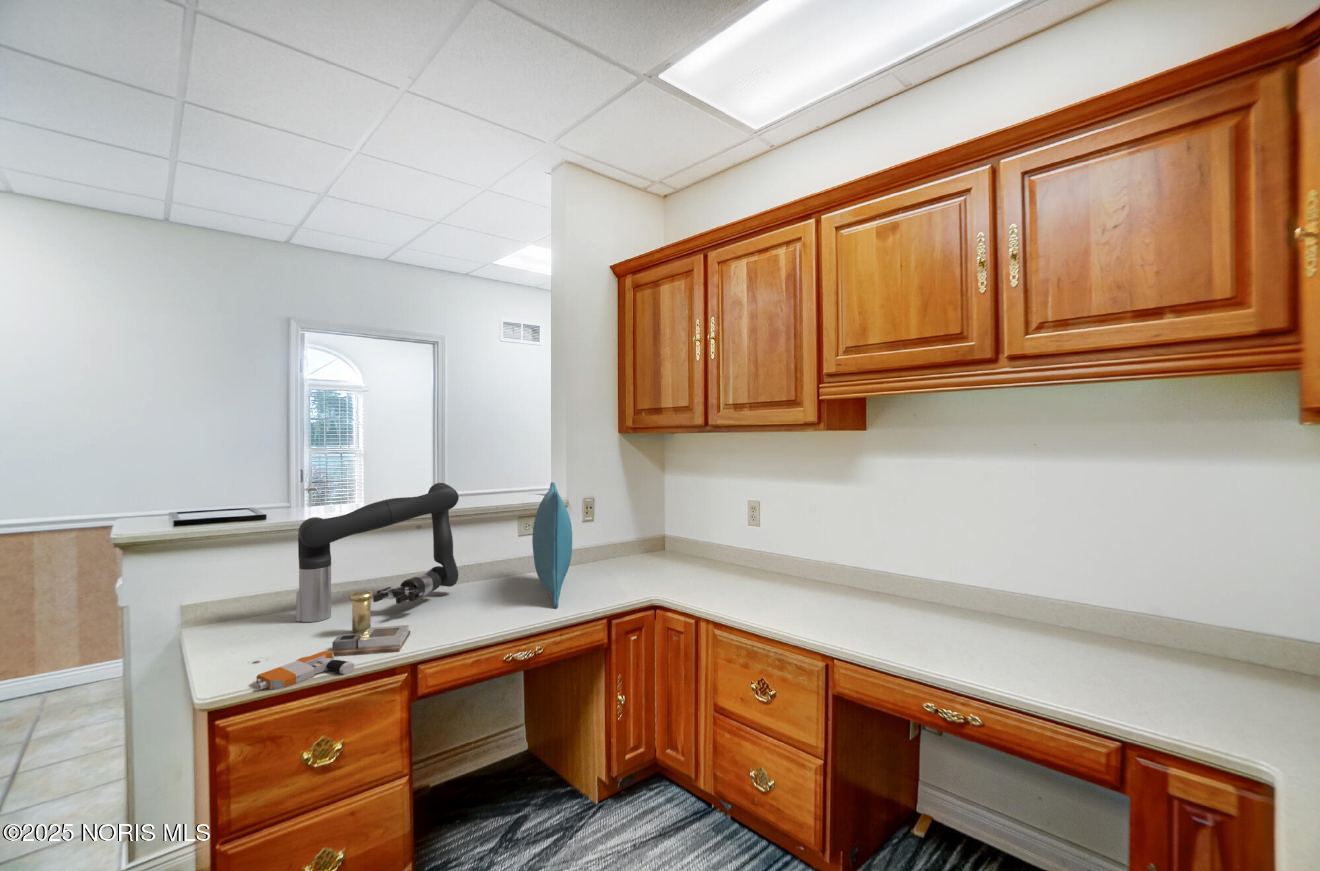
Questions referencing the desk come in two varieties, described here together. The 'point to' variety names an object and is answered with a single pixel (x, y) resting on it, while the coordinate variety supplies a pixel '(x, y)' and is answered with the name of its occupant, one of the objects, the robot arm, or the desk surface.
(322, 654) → the toy gun
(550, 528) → the pillow
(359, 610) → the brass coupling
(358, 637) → the grey square ring
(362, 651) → the walnut board
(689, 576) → the desk surface
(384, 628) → the wide steel port
